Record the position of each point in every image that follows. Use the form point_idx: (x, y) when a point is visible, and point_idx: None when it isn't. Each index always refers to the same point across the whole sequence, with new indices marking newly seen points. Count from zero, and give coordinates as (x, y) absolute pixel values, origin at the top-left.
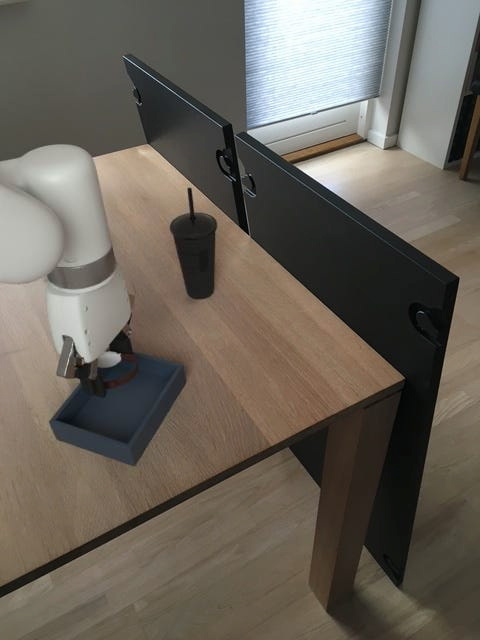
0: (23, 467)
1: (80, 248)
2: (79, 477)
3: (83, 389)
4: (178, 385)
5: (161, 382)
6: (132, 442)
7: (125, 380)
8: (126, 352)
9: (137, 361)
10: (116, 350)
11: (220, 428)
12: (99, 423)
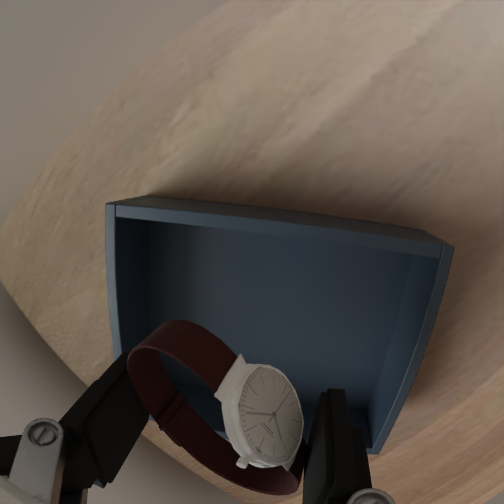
0: (77, 168)
1: None
2: (94, 289)
3: (91, 385)
4: None
5: (363, 376)
6: None
7: (217, 452)
8: (306, 474)
9: (276, 494)
10: (317, 442)
11: None
12: (206, 283)
